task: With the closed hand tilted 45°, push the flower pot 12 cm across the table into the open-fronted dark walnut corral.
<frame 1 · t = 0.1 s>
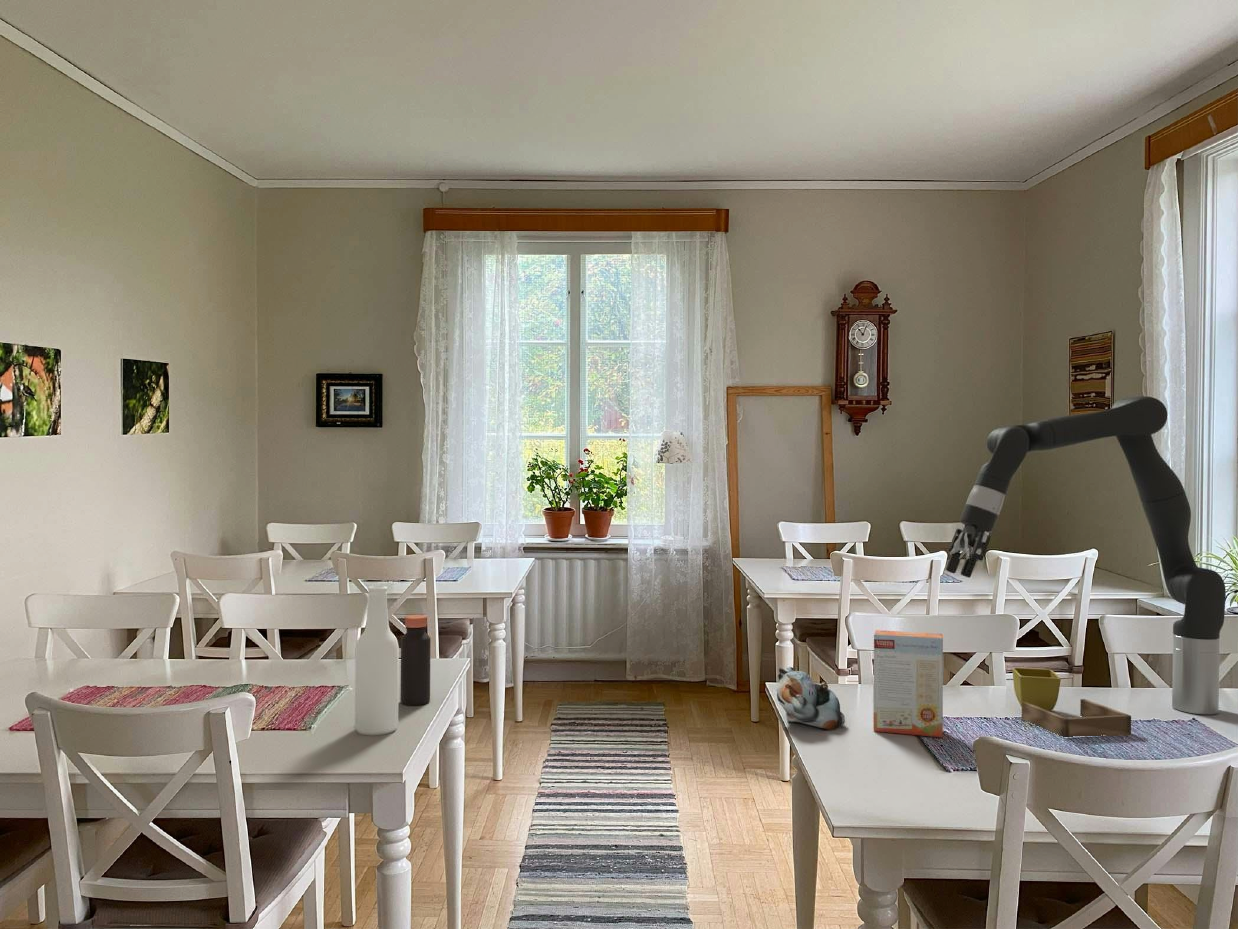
hand: (957, 574, 213), 31 cm above the table, tool tilted 20°, fingers open, 8 cm apart
flower pot: (1035, 712, 213), on the table
bottle: (415, 703, 216), on the table
cracker box: (907, 732, 196), on the table
corral: (1071, 726, 201), on the table
alcohol: (376, 730, 193), on the table
lucky cat figurine: (810, 724, 201), on the table
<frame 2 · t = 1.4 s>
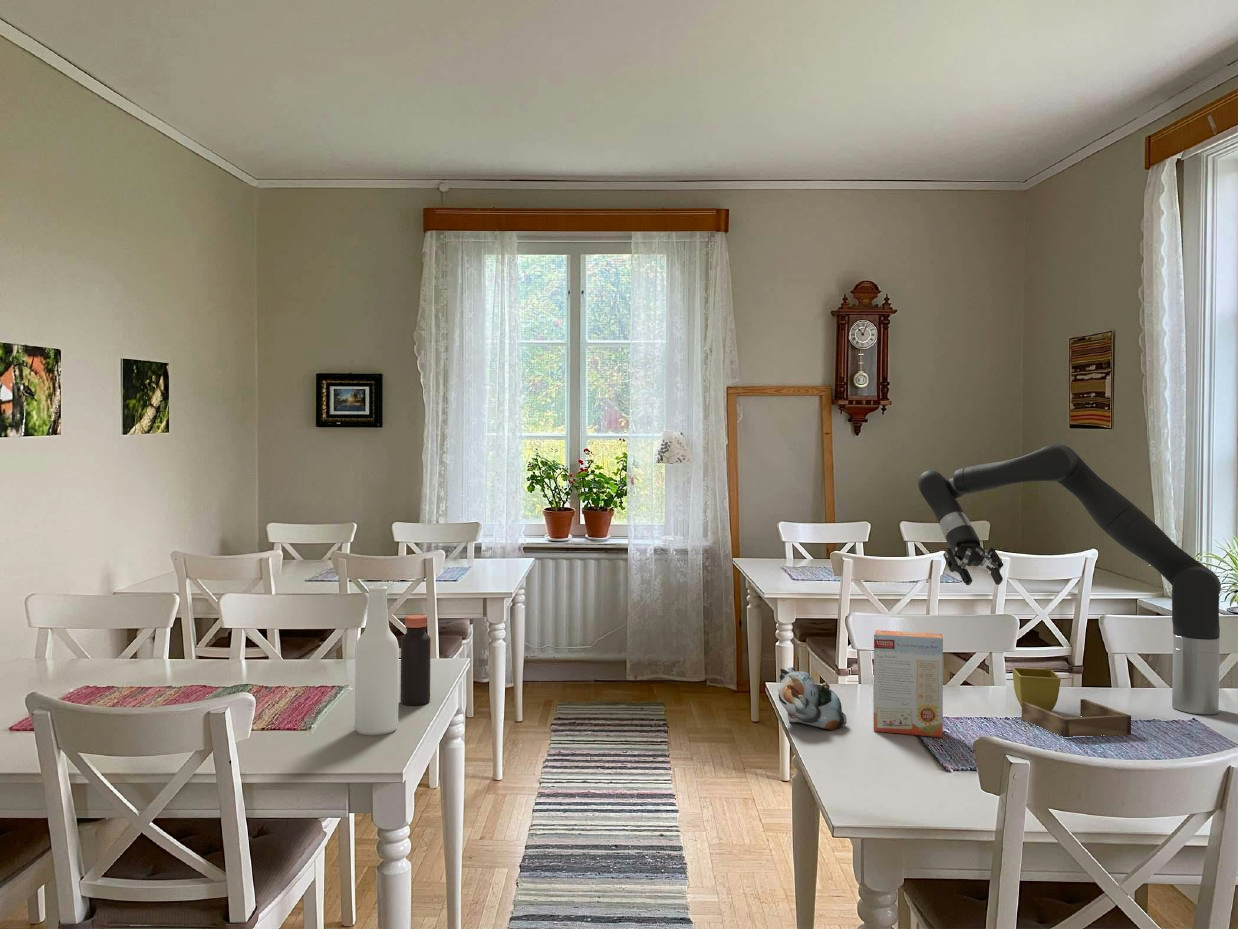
hand: (984, 583, 231), 27 cm above the table, tool tilted 45°, fingers open, 8 cm apart
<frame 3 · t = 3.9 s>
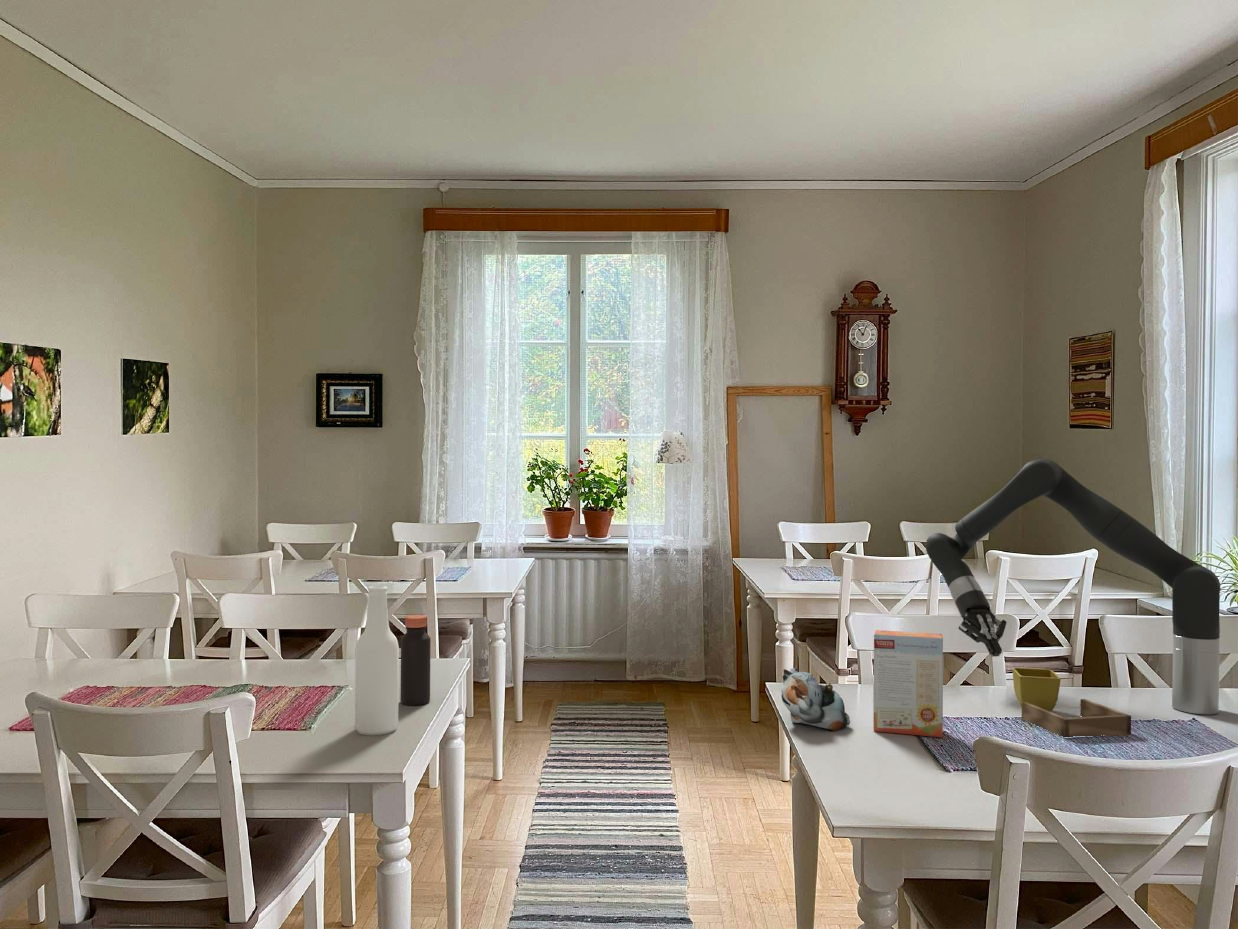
hand: (997, 654, 227), 10 cm above the table, tool tilted 45°, fingers closed
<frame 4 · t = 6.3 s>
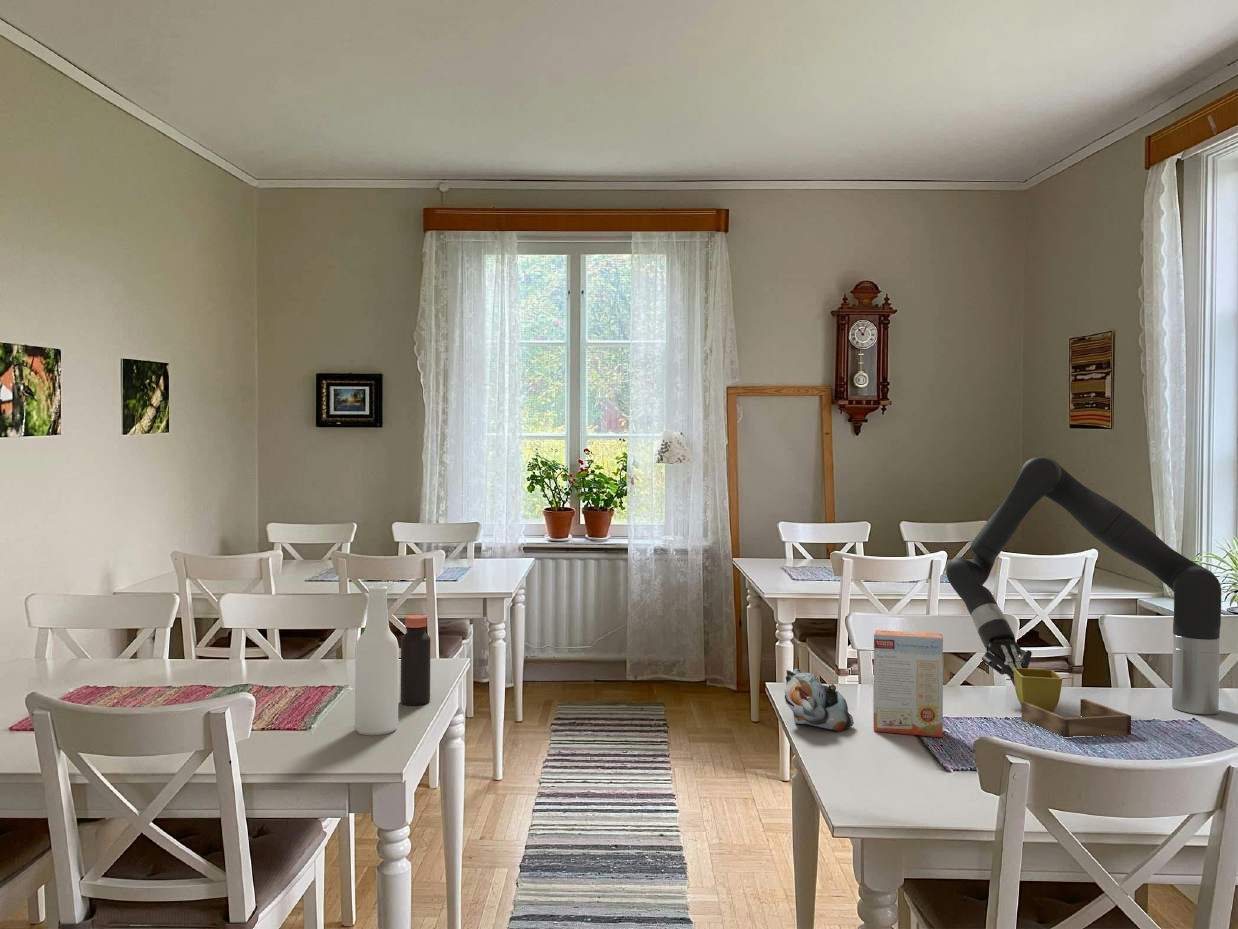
hand: (1022, 687, 217), 4 cm above the table, tool tilted 45°, fingers closed
flower pot: (1036, 712, 212), on the table, touching gripper
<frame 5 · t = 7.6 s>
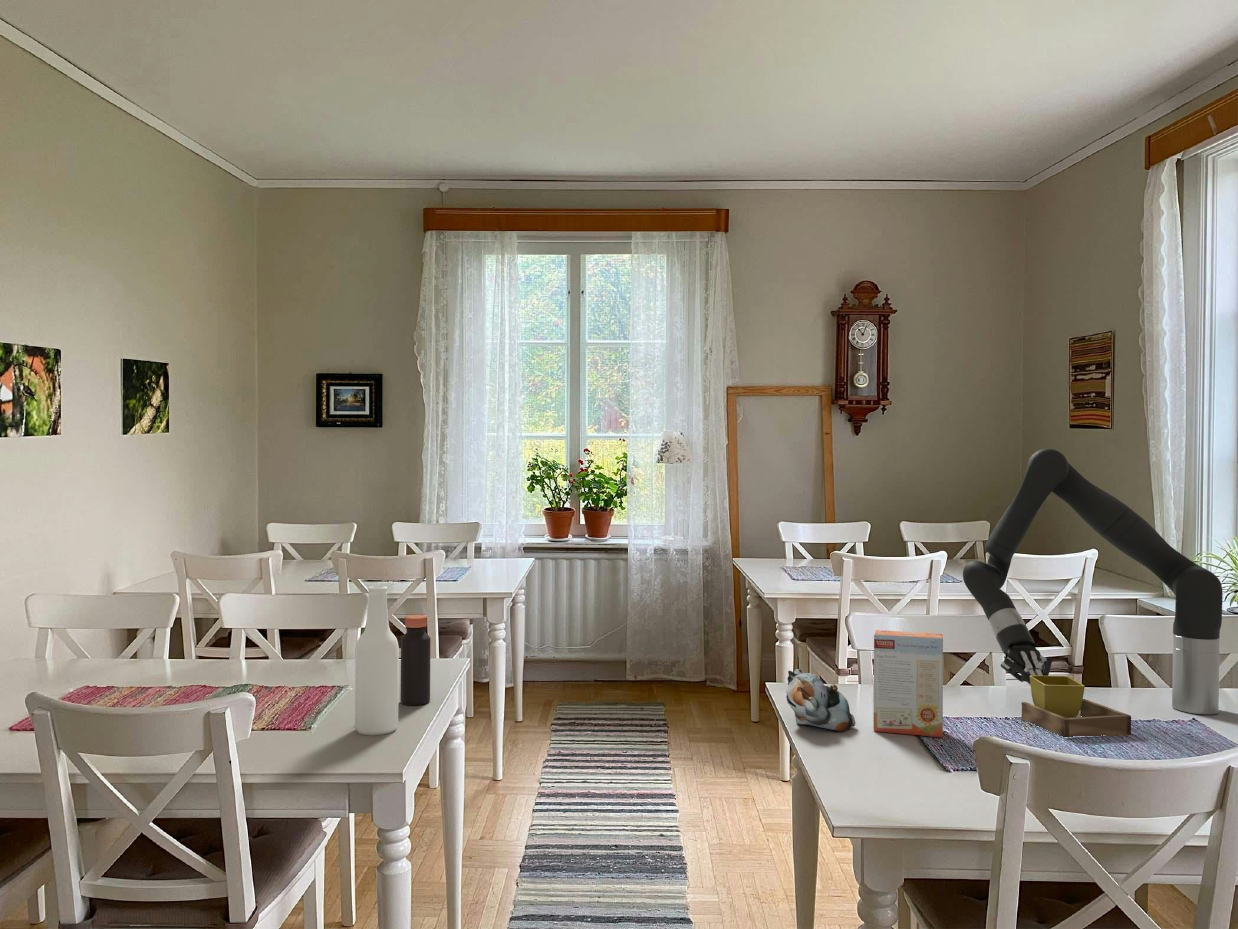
hand: (1043, 695, 210), 4 cm above the table, tool tilted 45°, fingers closed
flower pot: (1056, 721, 205), on the table, touching gripper
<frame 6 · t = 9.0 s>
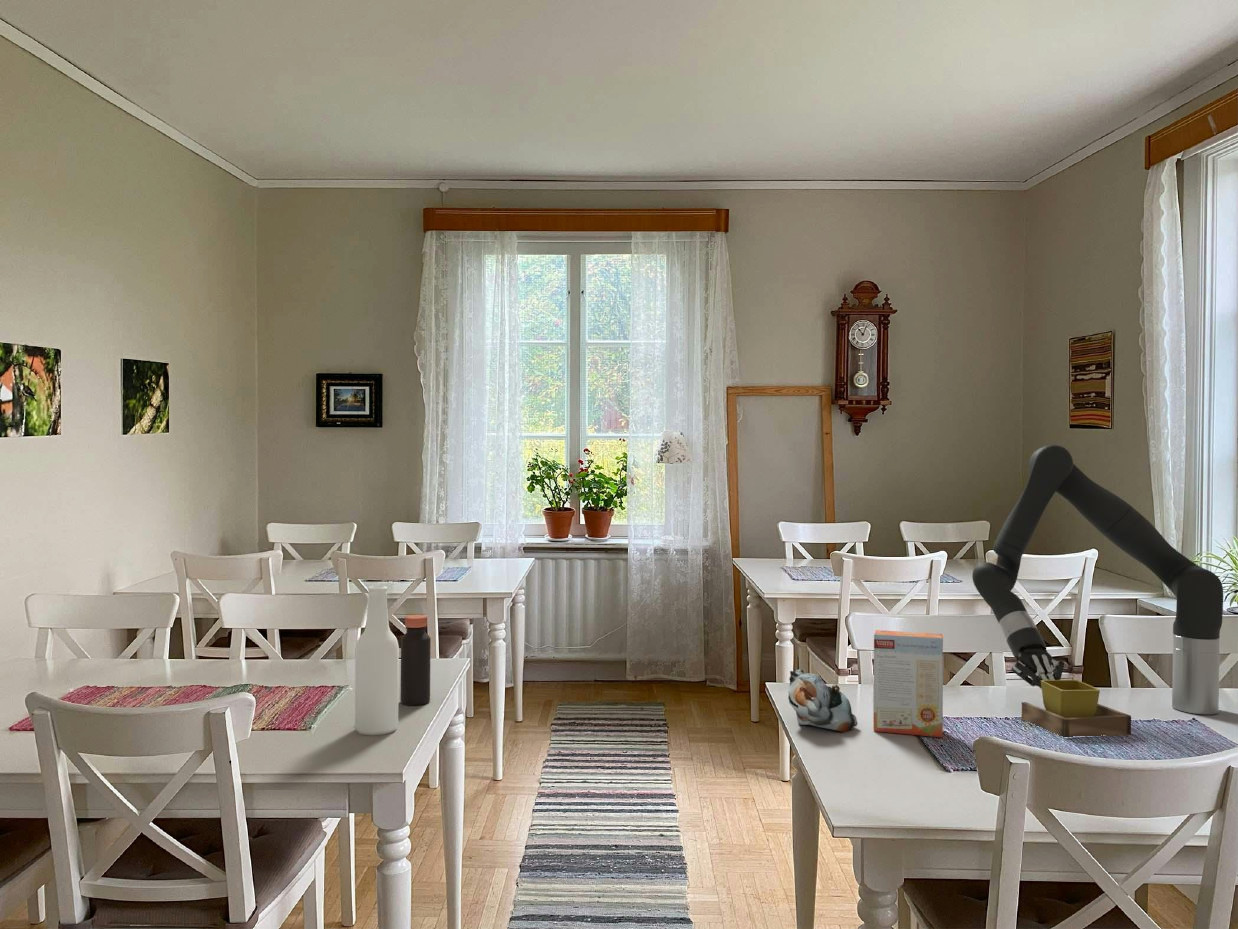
hand: (1055, 700, 206), 4 cm above the table, tool tilted 45°, fingers closed
flower pot: (1069, 726, 201), on the table, touching gripper
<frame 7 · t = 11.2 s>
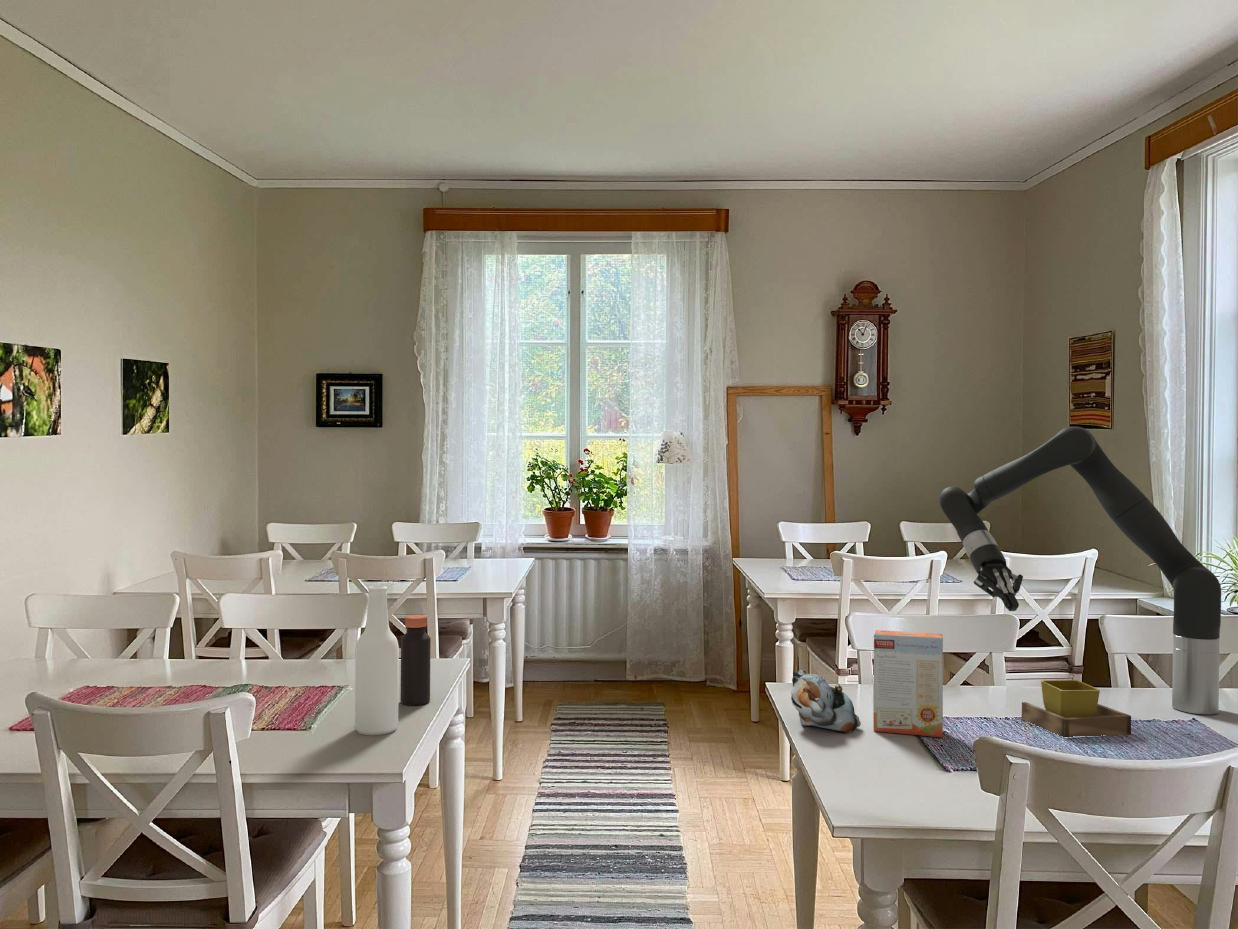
hand: (1014, 609, 219), 22 cm above the table, tool tilted 45°, fingers closed
flower pot: (1069, 727, 201), on the table
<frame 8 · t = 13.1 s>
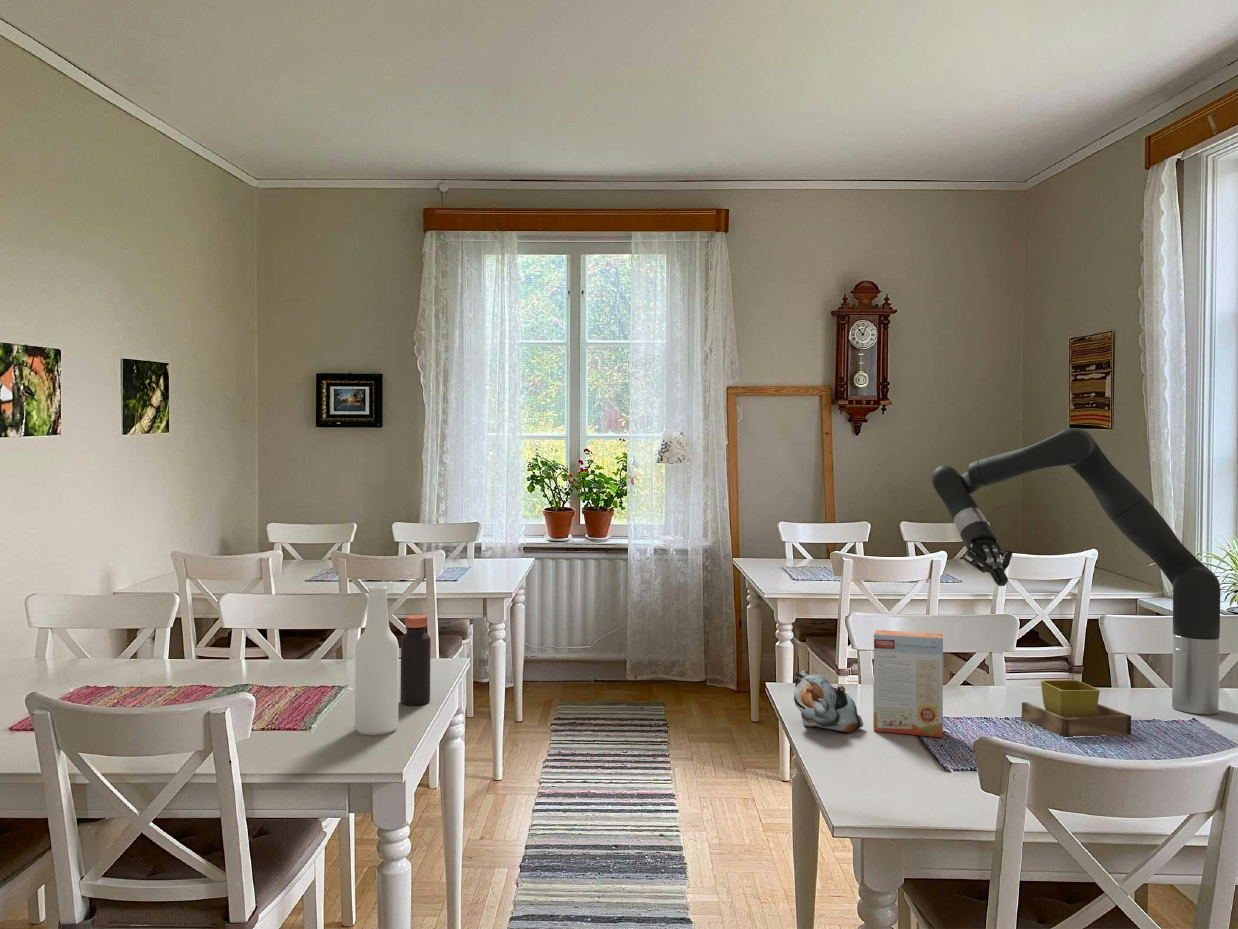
hand: (1003, 584, 224), 28 cm above the table, tool tilted 45°, fingers closed
at the end: flower pot inside the target area on the corral (0.5 cm from its centre), point 0.0 cm above the corral's base; flower pot tilted 0° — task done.
